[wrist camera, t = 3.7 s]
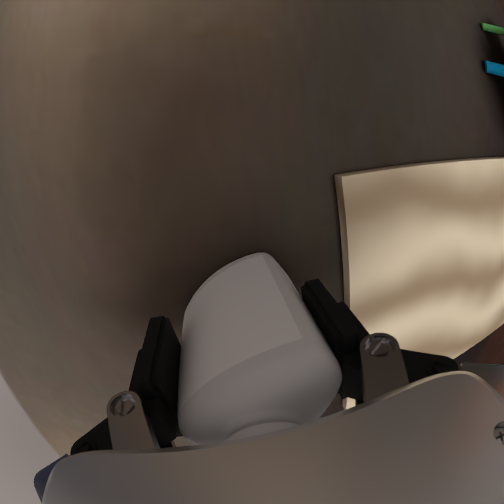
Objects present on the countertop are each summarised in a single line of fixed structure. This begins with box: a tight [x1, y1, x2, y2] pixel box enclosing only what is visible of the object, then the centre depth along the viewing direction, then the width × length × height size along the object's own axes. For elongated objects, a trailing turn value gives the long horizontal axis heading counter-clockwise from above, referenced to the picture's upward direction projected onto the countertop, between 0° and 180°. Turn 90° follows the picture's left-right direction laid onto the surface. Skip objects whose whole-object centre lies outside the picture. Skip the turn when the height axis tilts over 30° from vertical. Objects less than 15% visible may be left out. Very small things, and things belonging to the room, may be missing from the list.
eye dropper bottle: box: [177, 252, 342, 445], centre depth 9 cm, size 4×6×12 cm
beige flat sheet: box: [334, 157, 504, 410], centre depth 17 cm, size 18×26×1 cm
